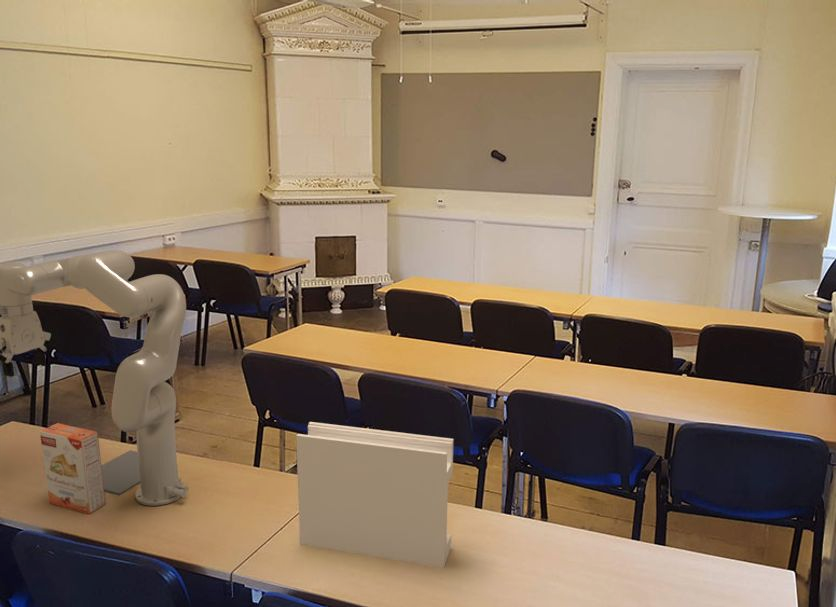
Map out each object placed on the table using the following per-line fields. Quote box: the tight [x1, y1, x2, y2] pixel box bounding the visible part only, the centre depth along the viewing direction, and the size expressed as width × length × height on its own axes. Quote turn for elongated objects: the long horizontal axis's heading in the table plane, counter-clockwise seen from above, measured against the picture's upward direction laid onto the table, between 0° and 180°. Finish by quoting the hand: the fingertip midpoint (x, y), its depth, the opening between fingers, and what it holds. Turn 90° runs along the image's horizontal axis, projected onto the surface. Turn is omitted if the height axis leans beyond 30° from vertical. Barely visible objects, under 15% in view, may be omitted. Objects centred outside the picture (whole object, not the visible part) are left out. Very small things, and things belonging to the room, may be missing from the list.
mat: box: [101, 449, 141, 497], centre depth 205 cm, size 17×21×1 cm
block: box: [295, 421, 454, 568], centre depth 167 cm, size 35×8×28 cm, turn 75°
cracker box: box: [39, 422, 107, 515], centre depth 185 cm, size 14×6×21 cm, turn 68°
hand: (25, 370), depth 197 cm, fingers open, 9 cm apart
